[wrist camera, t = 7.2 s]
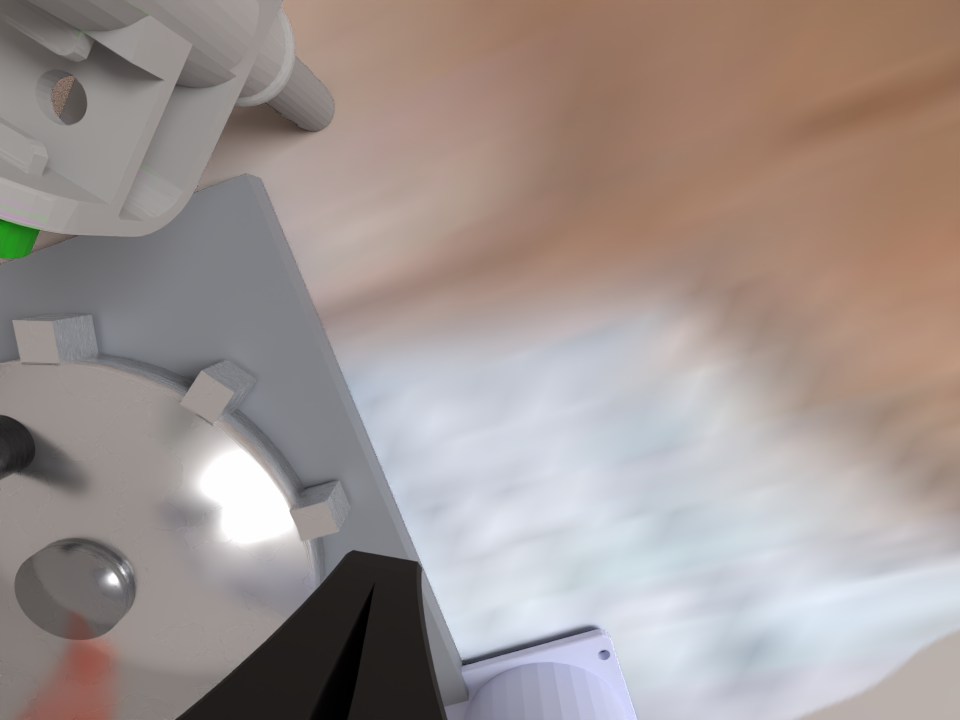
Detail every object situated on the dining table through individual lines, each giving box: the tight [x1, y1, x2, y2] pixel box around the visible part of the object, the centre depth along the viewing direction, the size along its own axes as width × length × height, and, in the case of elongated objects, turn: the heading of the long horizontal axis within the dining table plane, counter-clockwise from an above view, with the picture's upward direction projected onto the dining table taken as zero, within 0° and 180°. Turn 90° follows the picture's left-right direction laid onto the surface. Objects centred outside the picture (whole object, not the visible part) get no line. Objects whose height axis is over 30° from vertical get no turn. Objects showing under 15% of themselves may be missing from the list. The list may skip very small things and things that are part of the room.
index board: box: [0, 174, 469, 707], centre depth 18 cm, size 22×24×2 cm
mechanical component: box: [0, 0, 334, 259], centre depth 10 cm, size 3×10×10 cm, turn 148°
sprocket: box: [0, 314, 350, 720], centre depth 16 cm, size 18×19×4 cm
